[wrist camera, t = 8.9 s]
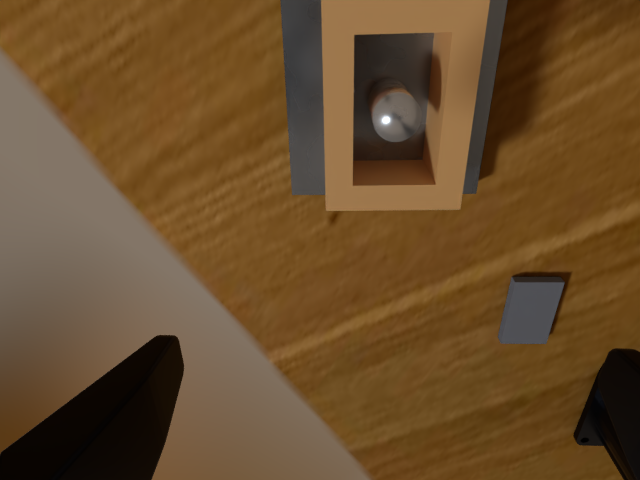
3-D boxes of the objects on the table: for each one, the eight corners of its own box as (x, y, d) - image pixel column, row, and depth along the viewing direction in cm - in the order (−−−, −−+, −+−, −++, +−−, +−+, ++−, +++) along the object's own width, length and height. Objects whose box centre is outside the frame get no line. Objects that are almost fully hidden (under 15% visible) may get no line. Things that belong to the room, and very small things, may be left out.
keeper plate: (469, 184, 20) (498, 224, 16) (294, 186, 20) (284, 226, 17) (501, -21, 16) (547, -27, 12) (282, -15, 16) (267, -19, 13)
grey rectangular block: (542, 337, 24) (546, 343, 23) (497, 337, 24) (500, 343, 23) (560, 276, 22) (564, 282, 21) (511, 276, 22) (515, 282, 22)
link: (444, 181, 19) (459, 209, 16) (327, 183, 19) (325, 210, 16) (466, -6, 15) (491, -7, 13) (323, -2, 15) (321, -2, 13)
